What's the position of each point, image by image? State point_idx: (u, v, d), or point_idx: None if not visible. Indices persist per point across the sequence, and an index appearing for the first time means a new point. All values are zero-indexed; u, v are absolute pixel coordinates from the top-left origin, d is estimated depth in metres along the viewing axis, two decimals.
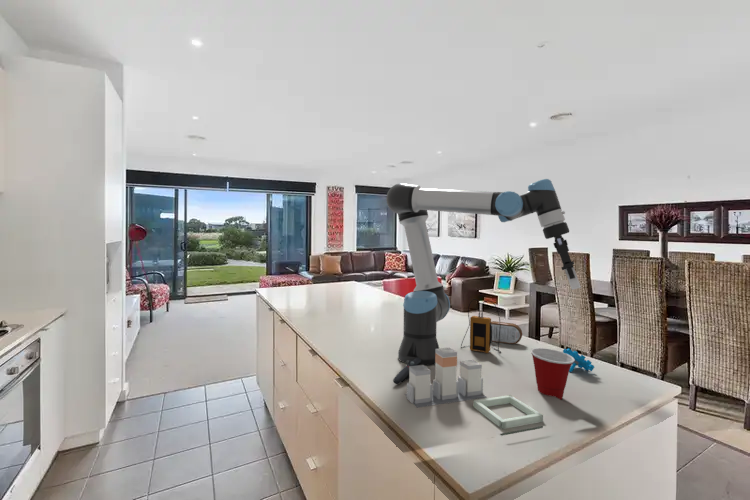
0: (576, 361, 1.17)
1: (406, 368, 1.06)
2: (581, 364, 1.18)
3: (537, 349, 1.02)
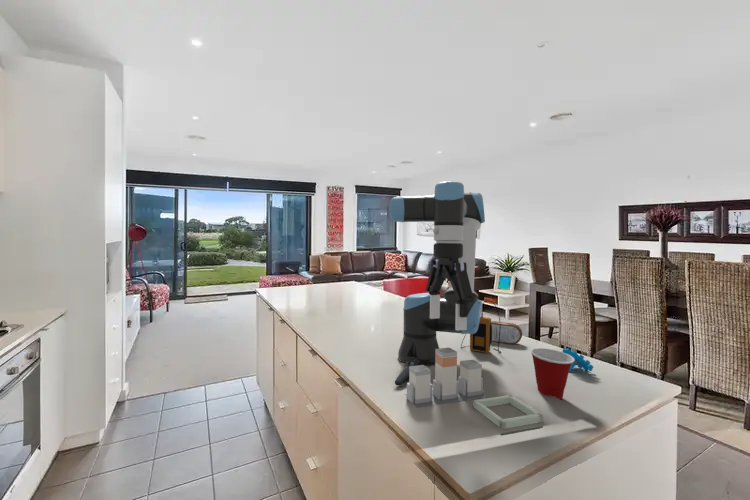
0: (575, 361, 1.17)
1: (407, 369, 1.05)
2: (580, 364, 1.18)
3: (537, 349, 1.02)
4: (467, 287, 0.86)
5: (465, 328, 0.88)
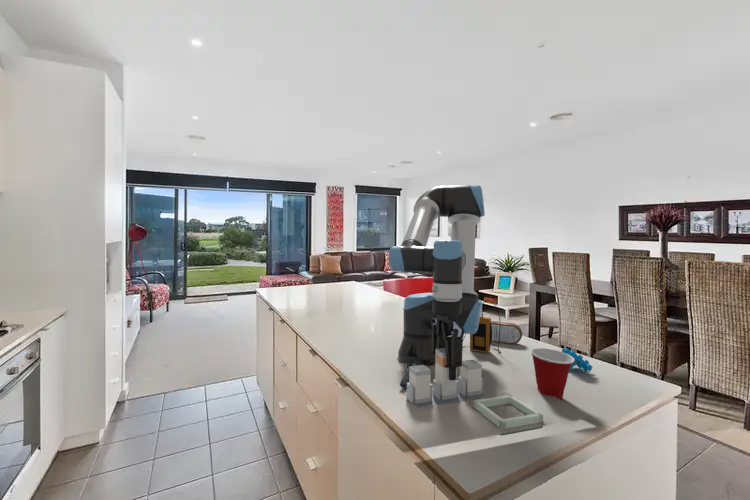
0: (574, 361, 1.17)
1: None
2: (579, 364, 1.18)
3: (537, 349, 1.02)
4: (459, 354, 0.89)
5: (454, 390, 0.92)
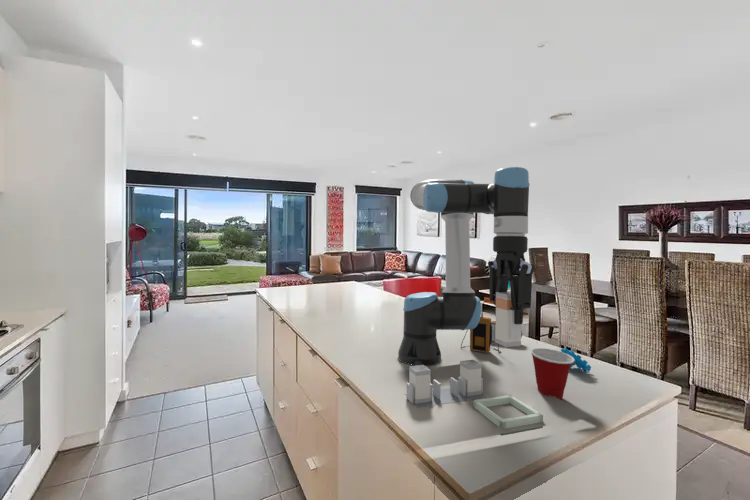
0: None
1: None
2: (578, 364, 1.18)
3: (537, 349, 1.02)
4: (527, 293, 0.79)
5: (520, 336, 0.82)
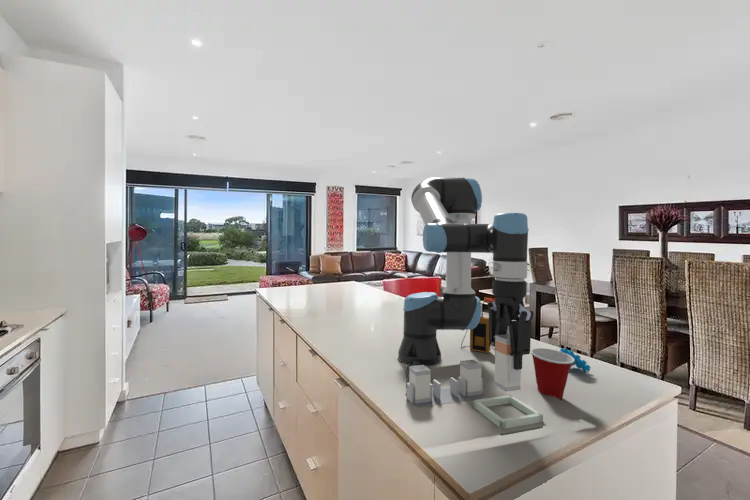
0: None
1: None
2: (578, 364, 1.18)
3: (537, 349, 1.02)
4: (527, 340, 0.79)
5: (519, 380, 0.82)
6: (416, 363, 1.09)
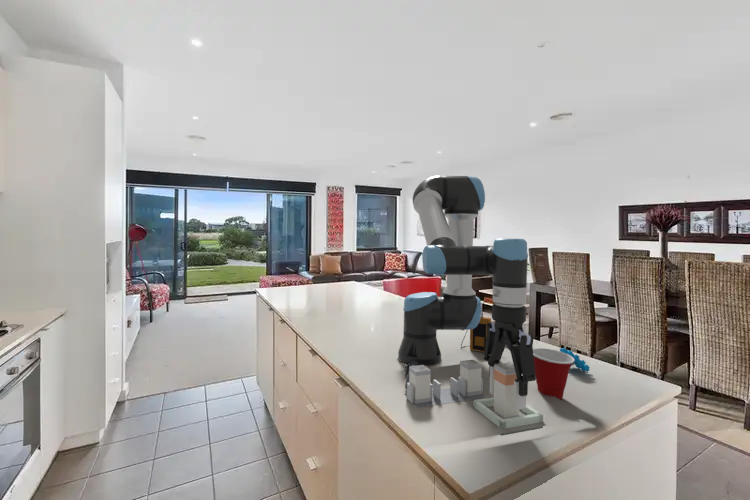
0: None
1: None
2: (577, 364, 1.18)
3: (537, 349, 1.02)
4: (530, 365, 0.78)
5: (524, 406, 0.81)
6: (414, 363, 1.09)
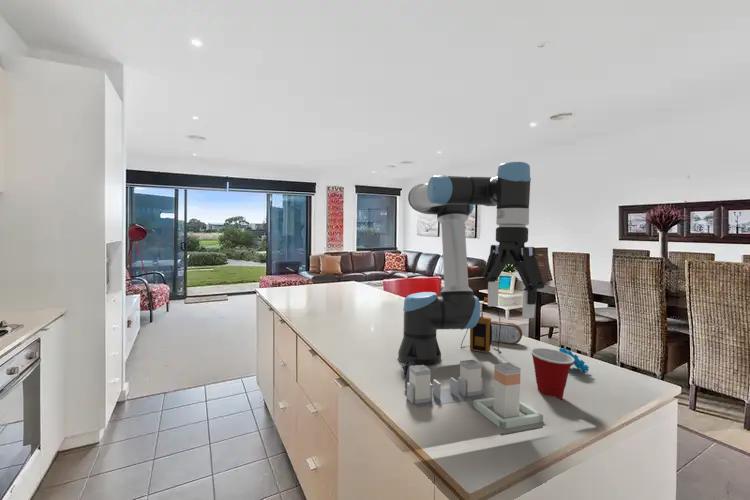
0: None
1: None
2: (577, 364, 1.18)
3: (537, 349, 1.02)
4: (537, 273, 0.81)
5: (533, 316, 0.84)
6: (412, 363, 1.09)
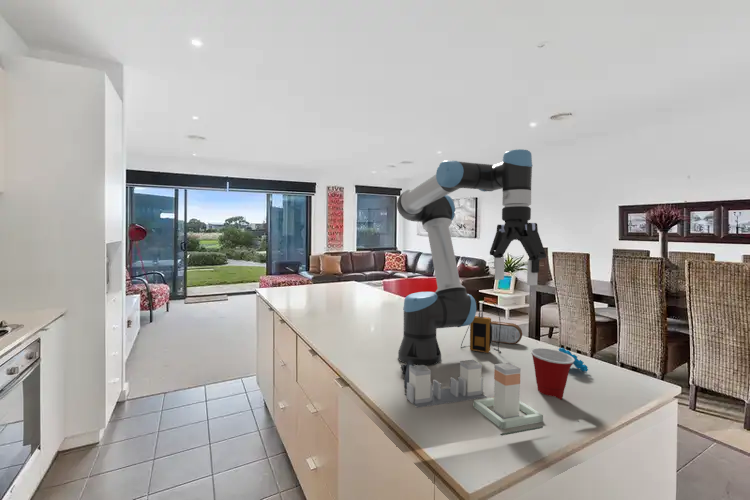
0: None
1: None
2: (576, 364, 1.18)
3: (537, 349, 1.02)
4: (539, 245, 0.93)
5: (536, 283, 0.95)
6: (411, 363, 1.09)
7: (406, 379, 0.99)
